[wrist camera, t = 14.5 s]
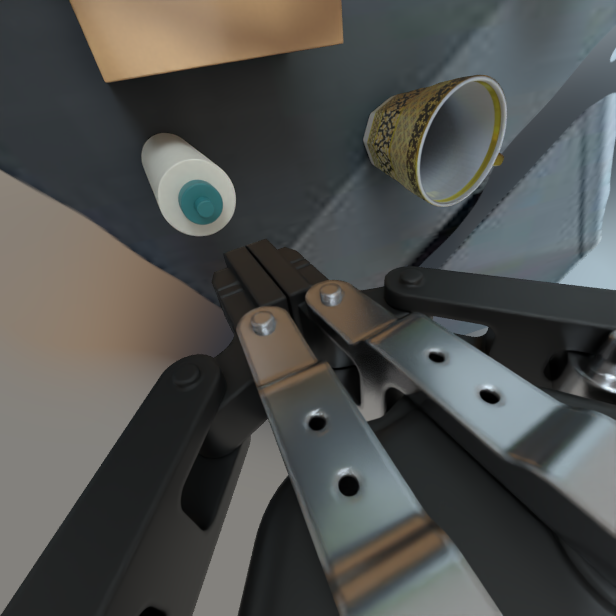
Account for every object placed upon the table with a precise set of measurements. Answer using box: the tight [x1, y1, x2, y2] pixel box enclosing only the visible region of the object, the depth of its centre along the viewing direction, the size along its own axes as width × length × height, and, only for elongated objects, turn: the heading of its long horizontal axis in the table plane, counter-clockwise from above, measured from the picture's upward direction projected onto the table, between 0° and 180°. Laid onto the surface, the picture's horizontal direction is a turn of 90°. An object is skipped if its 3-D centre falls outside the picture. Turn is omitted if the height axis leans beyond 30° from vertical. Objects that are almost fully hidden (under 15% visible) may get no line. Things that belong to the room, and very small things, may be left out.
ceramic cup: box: [363, 75, 507, 207], centre depth 31 cm, size 13×10×10 cm
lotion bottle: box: [141, 133, 236, 236], centre depth 21 cm, size 4×4×14 cm
